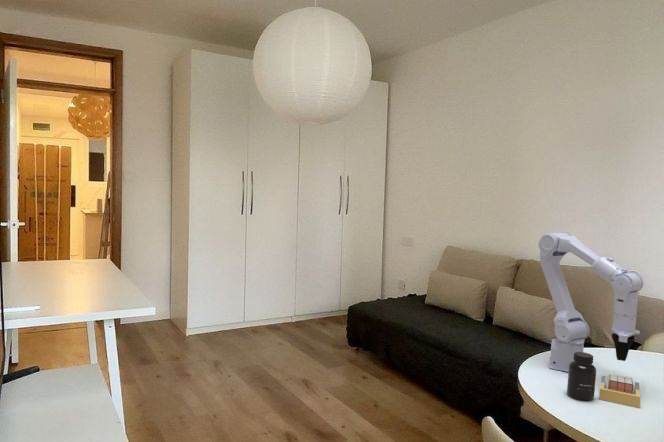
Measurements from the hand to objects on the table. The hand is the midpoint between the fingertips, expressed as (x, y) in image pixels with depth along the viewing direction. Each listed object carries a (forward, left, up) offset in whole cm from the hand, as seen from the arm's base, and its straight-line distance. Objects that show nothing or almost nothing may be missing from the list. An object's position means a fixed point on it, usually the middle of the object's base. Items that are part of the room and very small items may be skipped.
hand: (621, 359), depth 144 cm
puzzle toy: (0, -9, -9) cm, 12 cm away
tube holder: (0, -6, -8) cm, 10 cm away
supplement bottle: (-9, -14, -9) cm, 19 cm away
